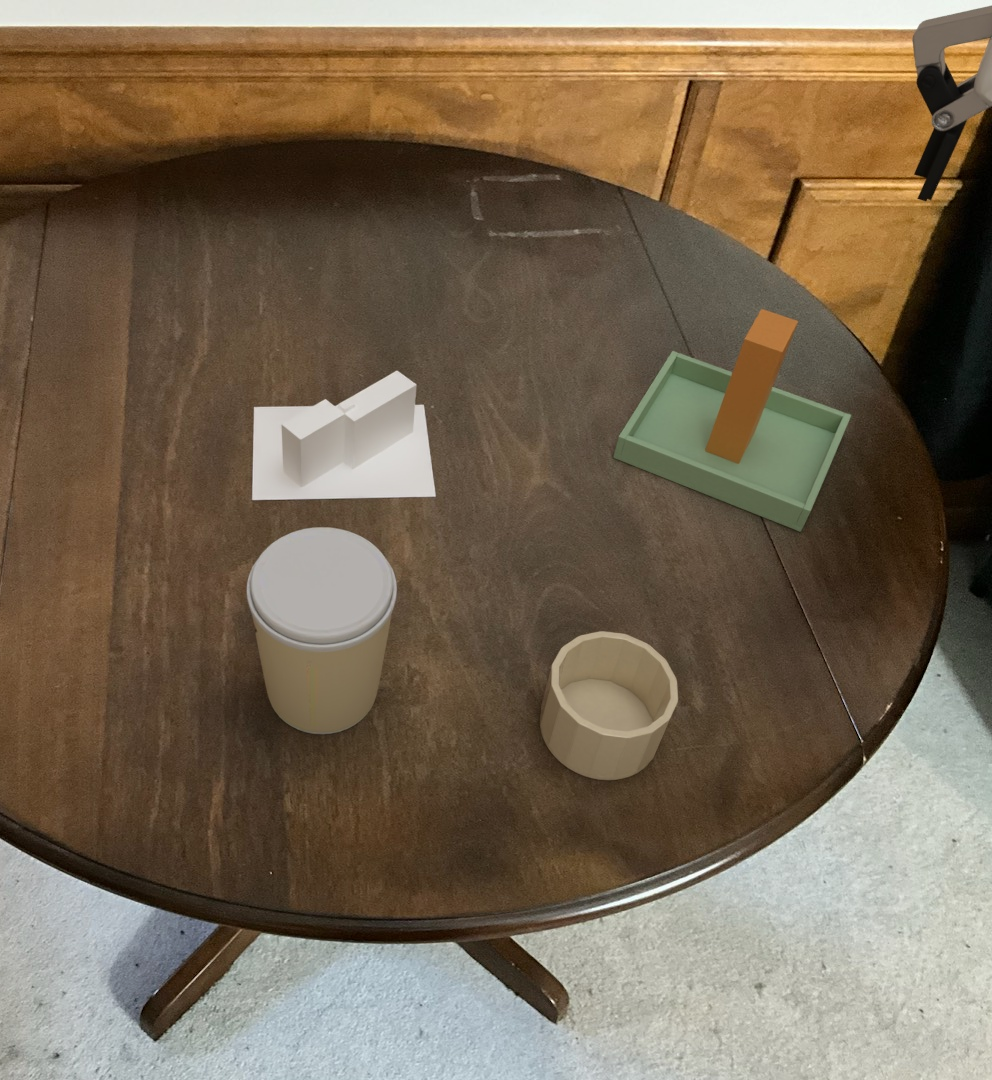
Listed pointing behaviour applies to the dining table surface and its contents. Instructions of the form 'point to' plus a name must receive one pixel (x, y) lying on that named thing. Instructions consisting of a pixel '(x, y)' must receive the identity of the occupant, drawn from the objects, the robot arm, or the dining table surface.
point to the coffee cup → (321, 626)
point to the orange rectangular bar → (750, 384)
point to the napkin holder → (345, 447)
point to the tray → (769, 461)
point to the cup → (607, 705)
